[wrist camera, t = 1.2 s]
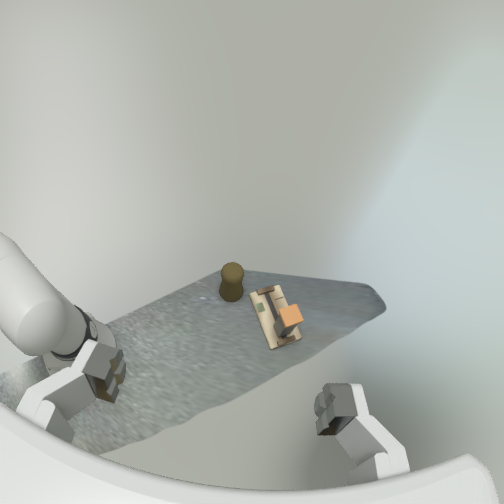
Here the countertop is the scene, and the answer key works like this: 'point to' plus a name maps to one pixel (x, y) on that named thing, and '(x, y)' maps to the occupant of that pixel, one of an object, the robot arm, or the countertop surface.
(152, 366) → the countertop surface
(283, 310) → the fader knob
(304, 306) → the countertop surface
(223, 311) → the countertop surface
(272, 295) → the fader board
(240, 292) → the cork
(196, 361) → the countertop surface
